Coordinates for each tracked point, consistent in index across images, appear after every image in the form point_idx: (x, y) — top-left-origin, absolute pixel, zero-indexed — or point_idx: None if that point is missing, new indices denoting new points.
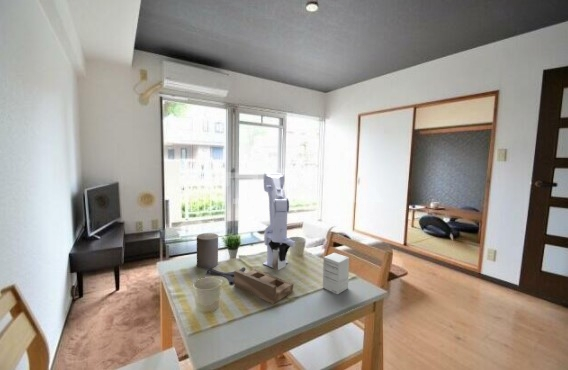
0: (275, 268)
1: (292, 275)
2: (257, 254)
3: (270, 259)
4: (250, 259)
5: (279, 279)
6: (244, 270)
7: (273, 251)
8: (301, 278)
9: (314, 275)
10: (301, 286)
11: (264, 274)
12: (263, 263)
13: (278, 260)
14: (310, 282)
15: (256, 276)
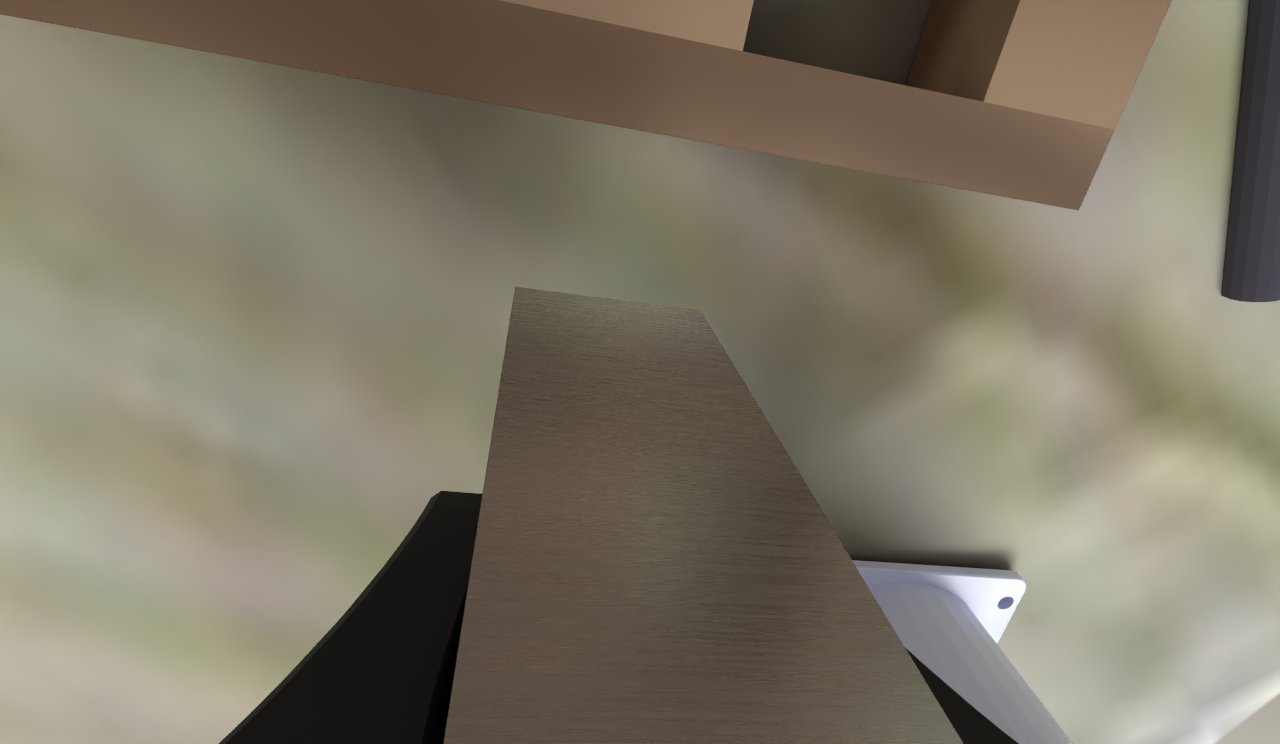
0: (599, 302)
1: None
2: (1178, 733)
3: (945, 659)
4: (1231, 590)
5: (314, 25)
6: (1227, 256)
7: (854, 670)
8: (262, 518)
9: (174, 684)
10: (46, 285)
11: (781, 77)
12: (1015, 578)
13: (494, 424)
14: (44, 486)
15: (942, 69)
